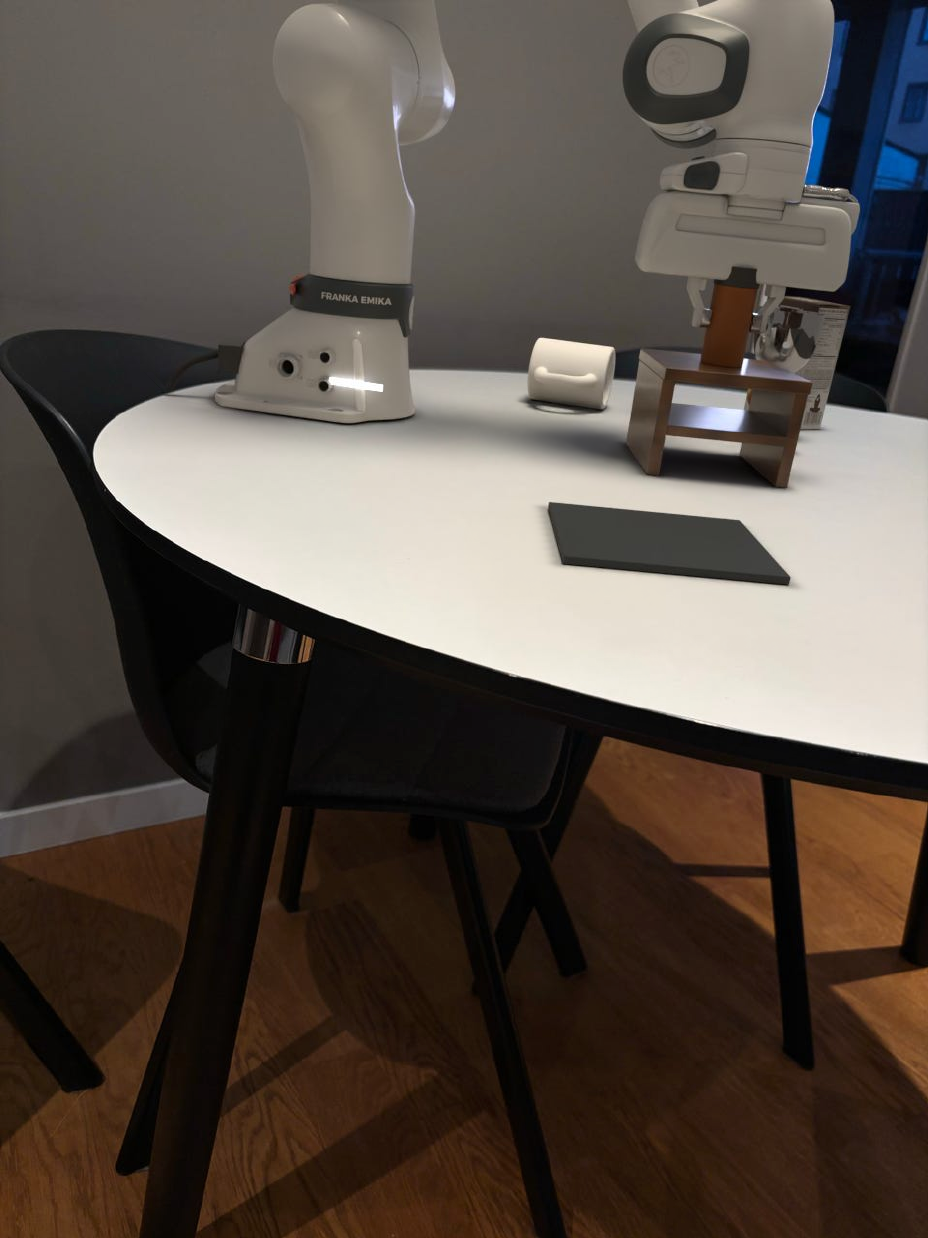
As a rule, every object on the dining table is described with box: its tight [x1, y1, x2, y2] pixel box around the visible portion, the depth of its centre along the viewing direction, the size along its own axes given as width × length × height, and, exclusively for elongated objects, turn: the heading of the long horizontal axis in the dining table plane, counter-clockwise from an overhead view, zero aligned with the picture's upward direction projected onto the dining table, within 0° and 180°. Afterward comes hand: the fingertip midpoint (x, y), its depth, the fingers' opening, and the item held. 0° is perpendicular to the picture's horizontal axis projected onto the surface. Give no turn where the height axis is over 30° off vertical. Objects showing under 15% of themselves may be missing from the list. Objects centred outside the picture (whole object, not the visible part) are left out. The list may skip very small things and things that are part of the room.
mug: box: [527, 337, 616, 411], centre depth 127 cm, size 12×10×8 cm
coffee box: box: [743, 295, 851, 431], centre depth 130 cm, size 9×6×16 cm
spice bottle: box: [700, 266, 761, 367], centre depth 97 cm, size 4×4×9 cm
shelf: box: [625, 347, 813, 489], centre depth 101 cm, size 14×15×10 cm
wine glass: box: [752, 305, 825, 374], centre depth 121 cm, size 8×8×15 cm
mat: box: [547, 501, 792, 586], centre depth 75 cm, size 16×14×1 cm
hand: (727, 329), depth 98 cm, fingers closed on spice bottle, 4 cm apart
